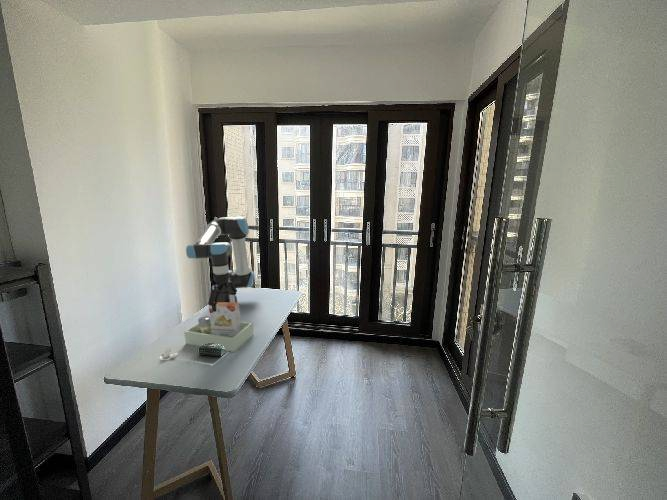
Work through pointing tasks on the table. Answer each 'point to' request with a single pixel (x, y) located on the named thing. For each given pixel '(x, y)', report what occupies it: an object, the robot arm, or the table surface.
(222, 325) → the cracker box
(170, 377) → the table surface
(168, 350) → the white curved piece
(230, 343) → the tote
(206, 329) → the can
